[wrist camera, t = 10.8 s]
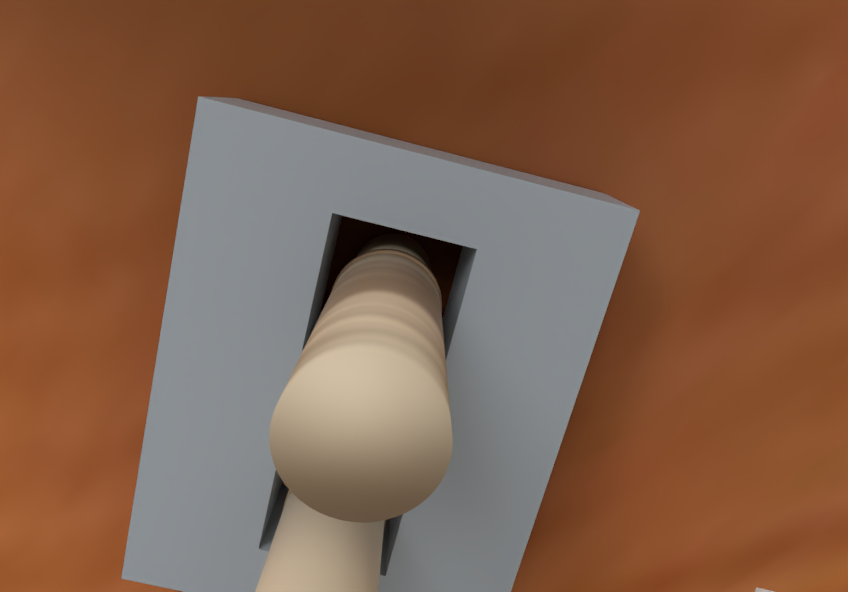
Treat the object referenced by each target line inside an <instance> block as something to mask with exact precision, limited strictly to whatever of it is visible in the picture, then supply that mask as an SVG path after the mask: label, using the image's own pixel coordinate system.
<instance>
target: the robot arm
mask: <svg viewBox="0 0 848 592" xmlns="http://www.w3.org/2000/svg"><path fill="white" fill-rule="evenodd" d="M755 592H774V591H770V590H765V589H761V588H756V590H755Z"/></svg>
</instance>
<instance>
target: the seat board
mask: <svg viewBox="0 0 848 592" xmlns="http://www.w3.org/2000/svg"><path fill="white" fill-rule="evenodd" d="M639 212H640V210H638V209H636V208H634V207H632V206H630V205H627V204H625V203H623V202H621V201H619V200H617V199H615V198H613V197H611V196H609V195H607V194H605V193H601V192H597V191H594V190H590V189H586V188H582V187H578V186H574V185H570V184H567V183H563V182H559V181H555V180H551V179H547V178H543V177H540V176H536V175H532V174H528V173H524V172H520V171H516V170H513V169H509V168H505V167H501V166H497V165H493V164H489V163H486V162H482V161H478V160H474V159H470V158H466V157H462V156H459V155H455V154H451V153H447V152H443V151H439V150H435V149H432V148H428V147H424V146H420V145H416V144H412V143H408V142H405V141H401V140H397V139H393V138H389V137H385V136H382V135H378V134H374V133H370V132H366V131H362V130H358V129H355V128H351V127H347V126H343V125H339V124H335V123H331V122H328V121H324V120H320V119H316V118H312V117H308V116H304V115H301V114H297V113H293V112H289V111H285V110H281V109H277V108H274V107H270V106H266V105H262V104H258V103H254V102H250V101H247V100H243V99H239V98H228V97H201V96H198V101H197V107H196V113H195V120H194V126H193V132H192V138H191V145H190V151H189V157H188V164H187V170H186V176H185V182H184V189H183V195H182V201H181V207H180V214H179V220H178V226H177V232H176V239H175V245H174V251H173V258H172V264H171V270H170V276H169V283H168V289H167V295H166V301H165V308H164V314H163V320H162V327H161V333H160V339H159V345H158V352H157V358H156V364H155V370H154V377H153V383H152V389H151V395H150V402H149V408H148V414H147V421H146V427H145V433H144V439H143V446H142V452H141V458H140V464H139V471H138V477H137V483H136V490H135V496H134V502H133V508H132V515H131V521H130V527H129V533H128V540H127V546H126V552H125V558H124V565H123V571H122V577H121V579H126V580H131V581H135V582H140V583H145V584H150V585H155V586H159V587H164V588H169V589H174V590H179V591H183V592H511V590H512V587H513V584H514V581H515V578H516V575H517V572H518V569H519V566H520V563H521V560H522V557H523V554H524V551H525V548H526V545H527V542H528V539H529V537H530V534H531V531H532V528H533V525H534V522H535V519H536V516H537V513H538V510H539V507H540V504H541V501H542V498H543V495H544V492H545V489H546V486H547V483H548V481H549V478H550V475H551V472H552V469H553V466H554V463H555V460H556V457H557V454H558V451H559V448H560V445H561V442H562V439H563V436H564V433H565V430H566V427H567V425H568V422H569V419H570V416H571V413H572V410H573V407H574V404H575V401H576V398H577V395H578V392H579V389H580V386H581V383H582V380H583V377H584V374H585V371H586V369H587V366H588V363H589V360H590V357H591V354H592V351H593V348H594V345H595V342H596V339H597V336H598V333H599V330H600V327H601V324H602V321H603V318H604V315H605V313H606V310H607V307H608V304H609V301H610V298H611V295H612V292H613V289H614V286H615V283H616V280H617V277H618V274H619V271H620V268H621V265H622V262H623V259H624V257H625V254H626V251H627V248H628V245H629V242H630V239H631V236H632V233H633V230H634V227H635V224H636V221H637V218H638V215H639ZM342 216H346V217H350V218H354V219H358V220H362V221H366V222H370V223H374V224H378V225H382V226H386V227H390V228H394V229H398V230H402V231H406V232H410V233H414V234H418V235H422V236H426V237H430V238H434V239H438V240H442V241H446V242H450V243H454V244H458V245H462V246H463V247H462V250H461V254H460V258H459V261H458V265H457V268H456V272H455V276H454V279H453V283H452V287H451V290H450V294H449V298H448V301H447V305H446V309H445V312H444V316H443V320H442V325H443V337H444V348H445V359H446V370H447V381H448V392H449V403H450V414H451V425H452V438H453V445H452V454H451V459H450V463H449V466H448V468H447V471H446V473H445V475H444V477H443V479H442V481H441V482H440V484H439V485H438V487H437V488H436V489H435V491H434V492H433V493H432V494H431V495H430V496H429V497H428V498H427V499H426V500H425V501H423V502H422V503H421V504H420V505H418V506H417V507H415V508H413V509H412V510H410V511H408V512H406V513H404V514H402V515H400V516H397V517H394V518H391V519H388V520H382V521H377V522H365V523H363V522H349V521H343V520H339V519H335V518H332V517H329V516H326V515H324V514H321V513H319V512H317V511H316V510H314V509H312V508H310V507H309V506H307V505H306V504H304V503H303V502H302V501H300V500H299V499H298V498H297V497H296V496H295V495H294V494H293V493H292V492H291V491H290V490H289V489H288V487H287V486H285V485H282V483H283V481H282V479H281V477H280V476H279V474H278V472H277V470H276V468H275V465H274V463H273V459H272V456H271V451H270V444H269V431H270V423H271V419H272V416H273V412H274V410H275V407H276V405H277V403H278V401H279V399H280V397H281V395H282V393H283V391H284V389H285V386H286V384H287V382H288V380H289V378H290V376H291V374H292V372H293V370H294V368H295V366H296V364H297V362H298V360H299V358H300V356H301V354H302V352H303V350H304V348H305V345H306V343H307V341H308V339H309V337H310V335H311V333H312V331H313V329H314V327H315V325H316V323H317V321H318V319H319V317H320V315H321V313H322V312H321V308H322V304H323V299H324V295H325V290H326V286H327V281H328V277H329V273H330V268H331V264H332V259H333V255H334V250H335V246H336V241H337V237H338V232H339V228H340V223H341V219H342Z"/></svg>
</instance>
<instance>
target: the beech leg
mask: <svg viewBox="0 0 848 592" xmlns="http://www.w3.org/2000/svg"><path fill="white" fill-rule="evenodd" d="M269 444H270V451H271V456H272V459H273V463H274V465H275V468H276V470H277V472H278V474H279V476H280V477H281V479H282V481H283V482H284V484H285V485H286V486H287V487H288V489H289V490H290V491H291V492H292V493H293V494H294V495H295V496H296V497H297V498H298V499H299V500H300V501H302V502H303V503H304V504H306V505H307V506H309V507H310V508H312V509H314V510H316V511H317V512H319V513H321V514H324V515H326V516H329V517H332V518H335V519H339V520H343V521H349V522H363V523H365V522H377V521H382V520H388V519H391V518H394V517H397V516H400V515H402V514H404V513H406V512H408V511H410V510H412V509H413V508H415V507H417V506H418V505H420V504H421V503H422V502H423V501H425V500H426V499H427V498H428V497H429V496H430V495H431V494H432V493H433V492H434V491H435V489H436V488H437V487H438V485H439V484H440V482H441V481H442V479H443V477H444V475H445V473H446V471H447V468H448V466H449V463H450V459H451V454H452V445H453V438H452V425H451V414H450V403H449V392H448V381H447V370H446V359H445V348H444V337H443V325H442V299H441V292H440V288H439V285H438V282H437V280H436V278H435V276H434V275H433V273H432V272H431V268H430V262H429V259H428V256H427V254H426V252H425V251H424V249H423V248H422V247H421V246H420V245H419V244H418V243H417V242H416V241H414V240H413V239H411V238H409V237H407V236H404V235H401V234H394V233H389V234H383V235H379V236H376V237H374V238H372V239H371V240H369V241H368V242H367V243H366V244H365V245H364V246H363V247H362V248H361V249H360V251H359V253H358V255H357V257H355V258H354V259H352V260H351V261H350V262H349V263H348V264H347V265H346V266H345V267H344V268H343V269H342V270H341V272H340V274H339V275H338V277H337V279H336V281H335V283H334V285H333V288H332V291H331V294H330V296H329V298H328V300H327V302H326V304H325V306H324V309H323V311H322V313H321V315H320V317H319V319H318V321H317V323H316V325H315V327H314V329H313V331H312V333H311V335H310V337H309V339H308V341H307V343H306V345H305V348H304V350H303V352H302V354H301V356H300V358H299V360H298V362H297V364H296V366H295V368H294V370H293V372H292V374H291V376H290V378H289V380H288V382H287V384H286V386H285V389H284V391H283V393H282V395H281V397H280V399H279V401H278V403H277V405H276V407H275V410H274V412H273V416H272V419H271V423H270V431H269Z"/></svg>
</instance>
